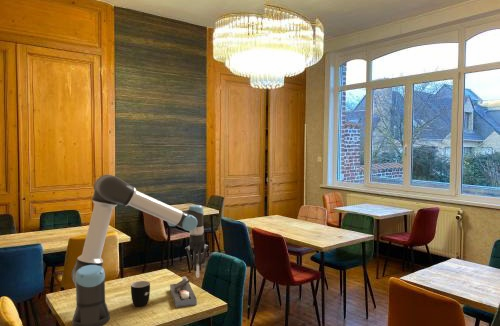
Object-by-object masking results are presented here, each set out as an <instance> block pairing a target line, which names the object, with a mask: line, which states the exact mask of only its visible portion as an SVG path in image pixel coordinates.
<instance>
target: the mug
mask: <svg viewBox="0 0 500 326" xmlns="http://www.w3.org/2000/svg"><path fill="white" fill-rule="evenodd" d="M150 293H151V282H150V281H148V280H139V281H135V282H132V283H131V284H130V295H131V301H132V304H133V306H134V307H136V308H142V307H145V306H148V303H149V301H150Z"/></svg>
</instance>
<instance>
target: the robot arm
mask: <svg viewBox="0 0 500 326" xmlns="http://www.w3.org/2000/svg"><path fill="white" fill-rule="evenodd" d="M93 190H94V192H93V195H92V200H91V201H92V203H94V205H93V209H92V213H91V217H90V221H89V225H88V229H87V233H86V237H85V240H84V244H83V248H82V252H81V254H80V255H79V256H78V257H77V259H76V262H75V265H74V266H73V269H72V270H71V278H72V281H73V284H74V287H75V292H76V293H75V294H76V295H75V300H76V306H75V310H74V314H73V315H72V316H73V317H72V322H71V323H72V326H103V325H105V324H107V323H108V322H109V321H110V319H111V315H110V314H111V313H110V311H109V308H108V306H107V302H106V289H105V288H106V279H105V278H106V273H105V269H104V267H103V264H104V259H103V258H102V253H103V250H104V246H105V242H106V238H107V233H108V231H109V230H108V229H109V226H110V224H111V223H110V222H111V218H112V214H113V210H114V208H115V207H117V206H118V205H120V206H124V207H127V206H130V207H132V208H134V209H136V210H139V211H141V212H144V213H146V214H148V215H151V216H153V217H155V218H158V219H160V220H163V221H165V222H166V223H167V225H168V226H169V227H176V226H177V227H178V228H181V229H183V230H184V231H187V232H189V244H188V246H186V247H185V248H184V249H185V250H186V252H187V257H188V259H189V260H188V261H189V263H190V265H192V266H193V271H194V272H195V277H196V278H200V272H201V271H202V265H203V264H205V261H206V257H207V251H208V250H209V247H210V246H209V245H208V244H206V243H205V237H204V232H205V231H204V230H205V229H204V228H205V227H204V208H203V205H200V204H193V205H189V207H188V209H185V210H181V209H178V208H176V207H174V206H172V205H169V204H167V203H165V202H163V201H161V200H159V199H156V198H154V197H152V196H150V195H147V194H145V193H143V192H141V191H139V190H137V189H136V187H135V186H133V185H131V184H129V183H127V182H126V181H125V180H123V179H121V178H120V177H118V176H115V175H113V174H104V175H101V176H99V177H98V178H97V179H96V181H95V182H94V185H93ZM190 250H192V254H193V256H192V254H191V251H190ZM202 250H203V251H202ZM202 252H203V253H202ZM192 257H193V259H192ZM197 262H198V263H197Z"/></svg>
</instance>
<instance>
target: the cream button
mask: <svg viewBox="0 0 500 326" xmlns="http://www.w3.org/2000/svg"><path fill="white" fill-rule="evenodd" d="M185 299H189V292H188V291H184V292H181V300H185Z"/></svg>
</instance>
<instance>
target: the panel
mask: <svg viewBox="0 0 500 326" xmlns="http://www.w3.org/2000/svg"><path fill="white" fill-rule="evenodd" d="M175 284H176V283H173V284H171V283H170V284H169V290H170V294H171V297H172V300H173V304H174V306H175V308H183V307H190V306H197V305H198V299H197V297H196V295H195V293H194V291H193V288H192V286H191V284H190V282H189V283H187V284H185V285H184V286H182V287H180V288H178V289H177V290H175V288H174V285H175ZM181 290H186V291H188V292H189V299H185V300H181V295H180V291H181Z"/></svg>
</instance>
